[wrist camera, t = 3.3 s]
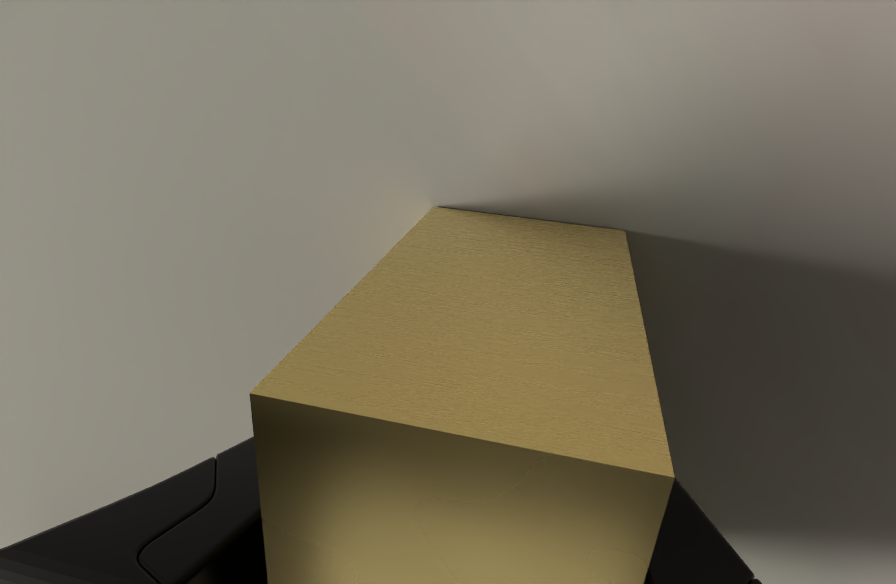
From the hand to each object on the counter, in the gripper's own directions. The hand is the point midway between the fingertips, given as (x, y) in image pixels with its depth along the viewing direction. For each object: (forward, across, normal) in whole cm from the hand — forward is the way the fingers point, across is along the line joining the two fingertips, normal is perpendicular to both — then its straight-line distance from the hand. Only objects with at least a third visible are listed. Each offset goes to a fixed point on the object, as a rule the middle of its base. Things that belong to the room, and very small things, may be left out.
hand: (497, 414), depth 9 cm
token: (+1, 0, 0) cm, 1 cm away
